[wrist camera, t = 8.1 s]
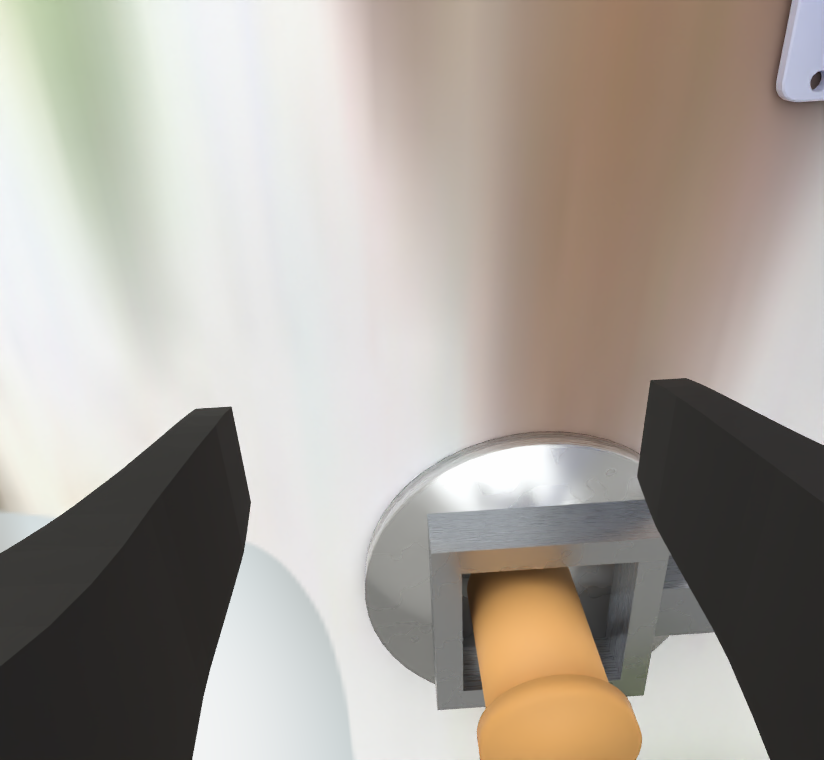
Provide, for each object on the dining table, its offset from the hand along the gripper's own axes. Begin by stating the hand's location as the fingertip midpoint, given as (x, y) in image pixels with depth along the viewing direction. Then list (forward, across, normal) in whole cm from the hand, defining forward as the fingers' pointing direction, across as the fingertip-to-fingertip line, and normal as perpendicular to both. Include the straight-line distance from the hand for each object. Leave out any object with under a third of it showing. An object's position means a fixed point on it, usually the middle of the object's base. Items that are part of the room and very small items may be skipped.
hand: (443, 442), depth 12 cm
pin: (+9, -3, +13) cm, 16 cm away
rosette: (+10, -7, +13) cm, 18 cm away
